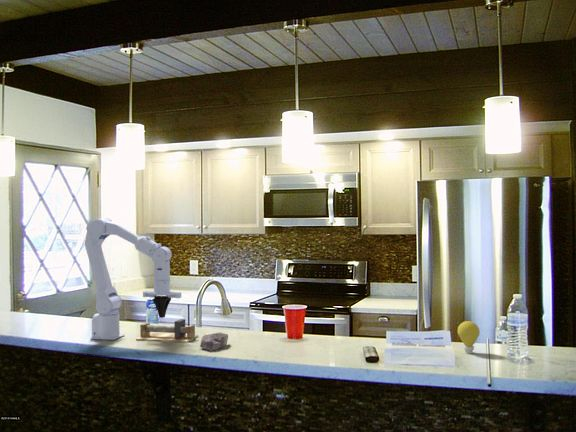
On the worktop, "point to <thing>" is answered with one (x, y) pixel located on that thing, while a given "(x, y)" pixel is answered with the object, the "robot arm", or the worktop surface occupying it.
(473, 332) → the light bulb
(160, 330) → the pipe rig
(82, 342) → the worktop surface
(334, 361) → the worktop surface
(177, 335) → the collar
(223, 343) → the rock
